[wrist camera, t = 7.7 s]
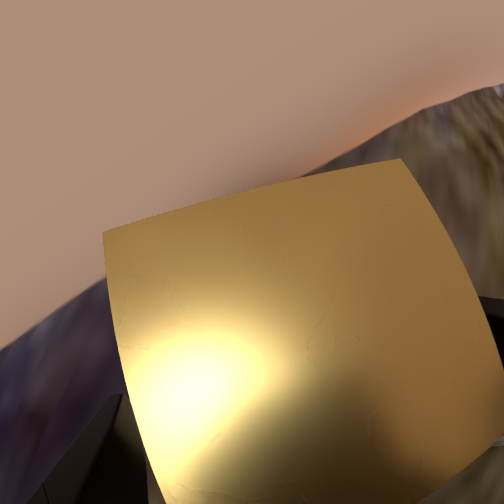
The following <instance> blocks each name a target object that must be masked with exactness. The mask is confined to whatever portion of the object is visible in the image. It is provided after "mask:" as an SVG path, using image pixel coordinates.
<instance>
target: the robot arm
mask: <svg viewBox="0 0 504 504" xmlns="http://www.w3.org/2000/svg"><path fill="white" fill-rule="evenodd" d="M478 298H479V301H480V303H481V306H482V308H483V311H484V313H485V316H486V318H487V321H488V324H489V326H490V329H491V332H492V335H493V338H494V340H495V343H496V346H497V350H498V353H499V356H500V359H501V362H502V366H503V369H504V300H502V299H495V298H489V297H482V296H478ZM25 504H149V502H148V488H147V471H146V462H145V455H144V448H143V441H142V437H141V434H140V431H139V428H138V425H137V421H136V418H135V414H134V411H133V407H132V404H131V403H130V401H129V400H128V398H127V397H126V396H125V395H124V394H117V395H111V396H109V397H108V399H107V400H106V401H105V402H104V404H103V405H102V406H101V407H100V409H99V410H98V411H97V412H96V414H95V415H94V416H93V417H92V419H91V420H90V421H89V422H88V424H87V425H86V426H85V427H84V429H83V430H82V431H81V432H80V434H79V435H78V436H77V438H76V439H75V440H74V441H73V443H72V444H71V445H70V446H69V448H68V449H67V450H66V452H65V453H64V454H63V455H62V457H61V458H60V459H59V461H58V462H57V463H56V464H55V466H54V467H53V468H52V470H51V471H50V472H49V474H48V475H47V476H46V477H45V479H44V480H43V482H42V483H41V484H40V485H39V487H38V488H37V489H36V490H35V492H34V493H33V494H32V495H31V497H30V498H29V499H28V500H27V502H26V503H25Z"/></svg>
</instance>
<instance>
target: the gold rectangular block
mask: <svg viewBox="0 0 504 504" xmlns="http://www.w3.org/2000/svg"><path fill="white" fill-rule="evenodd" d="M103 245H104V256H105V266H106V275H107V283H108V291H109V298H110V304H111V311H112V317H113V323H114V329H115V334H116V339H117V344H118V349H119V354H120V359H121V363H122V368H123V372H124V377H125V381H126V385H127V389H128V393H129V396H130V400H131V404H132V407H133V411H134V414H135V418H136V421H137V425H138V428H139V431H140V434H141V437H142V440H143V443H144V446H145V449H146V452H147V455H148V458H149V461H150V464H151V466H152V469H153V472H154V474H155V477H156V479H157V482H158V485H159V487H160V489H161V492H162V494H163V497H164V499H165V501H166V504H414V503H416V502H417V501H419V500H421V499H422V498H424V497H425V496H427V495H428V494H430V493H431V492H433V491H434V490H436V489H437V488H439V487H440V486H442V485H443V484H445V483H446V482H447V481H449V480H450V479H451V478H453V477H454V476H455V475H457V474H458V473H459V472H461V471H462V470H463V469H465V468H466V467H467V466H468V465H470V464H471V463H472V462H473V461H474V460H476V459H477V458H478V457H479V456H480V455H481V454H483V453H484V452H485V451H486V450H487V449H488V448H489V447H491V446H492V445H493V444H494V443H495V442H496V441H497V440H498V439H499V438H500V437H501V436H502V435H503V434H504V369H503V366H502V362H501V359H500V356H499V353H498V350H497V346H496V343H495V340H494V338H493V335H492V332H491V329H490V326H489V324H488V321H487V318H486V316H485V313H484V311H483V308H482V306H481V303H480V301H479V298H478V296H477V294H476V291H475V289H474V287H473V284H472V282H471V280H470V278H469V276H468V273H467V271H466V269H465V267H464V265H463V263H462V261H461V259H460V257H459V255H458V253H457V251H456V249H455V247H454V245H453V243H452V241H451V239H450V237H449V236H448V234H447V232H446V230H445V228H444V227H443V225H442V223H441V221H440V219H439V218H438V216H437V214H436V213H435V211H434V209H433V208H432V206H431V204H430V203H429V201H428V199H427V198H426V196H425V194H424V193H423V191H422V190H421V188H420V187H419V185H418V183H417V182H416V180H415V179H414V177H413V176H412V174H411V173H410V171H409V170H408V168H407V167H406V166H405V164H404V163H403V161H402V160H401V158H400V159H394V160H388V161H383V162H377V163H371V164H366V165H361V166H356V167H350V168H345V169H340V170H335V171H331V172H326V173H321V174H316V175H312V176H307V177H302V178H298V179H294V180H289V181H285V182H281V183H277V184H272V185H268V186H264V187H260V188H255V189H252V190H247V191H243V192H239V193H235V194H232V195H228V196H225V197H220V198H216V199H213V200H209V201H205V202H201V203H198V204H194V205H191V206H187V207H184V208H180V209H177V210H173V211H170V212H166V213H163V214H160V215H156V216H153V217H149V218H146V219H143V220H140V221H137V222H133V223H130V224H127V225H124V226H120V227H117V228H114V229H111V230H108V231H105V232H103Z"/></svg>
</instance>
